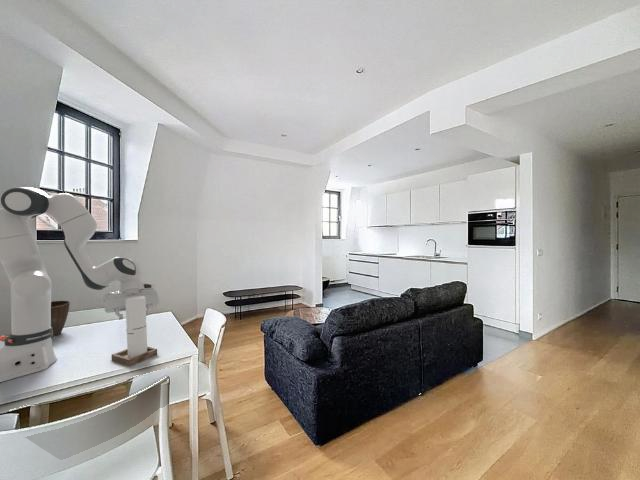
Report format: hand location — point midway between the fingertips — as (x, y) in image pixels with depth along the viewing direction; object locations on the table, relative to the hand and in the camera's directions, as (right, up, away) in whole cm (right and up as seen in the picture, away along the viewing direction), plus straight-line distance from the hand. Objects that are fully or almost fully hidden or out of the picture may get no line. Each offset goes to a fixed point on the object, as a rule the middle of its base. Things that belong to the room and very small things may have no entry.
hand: (134, 316), depth 121 cm
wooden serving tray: (0, -18, 0) cm, 18 cm away
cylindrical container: (+2, -17, 0) cm, 17 cm away
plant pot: (-60, -16, +24) cm, 67 cm away
